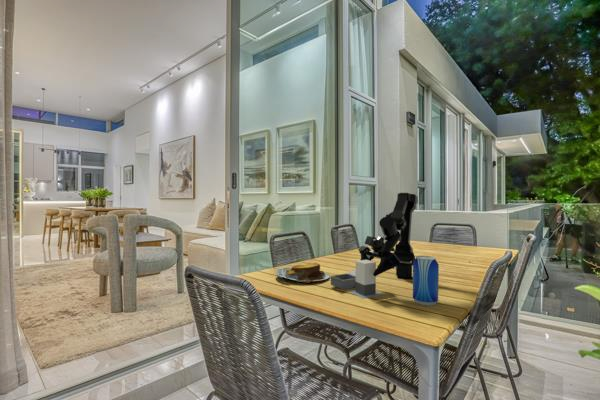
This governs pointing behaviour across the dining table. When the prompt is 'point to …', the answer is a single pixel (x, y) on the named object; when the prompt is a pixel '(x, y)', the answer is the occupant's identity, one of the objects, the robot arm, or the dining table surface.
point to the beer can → (425, 280)
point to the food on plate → (302, 273)
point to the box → (365, 277)
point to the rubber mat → (366, 295)
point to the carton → (344, 280)
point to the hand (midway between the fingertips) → (366, 272)
